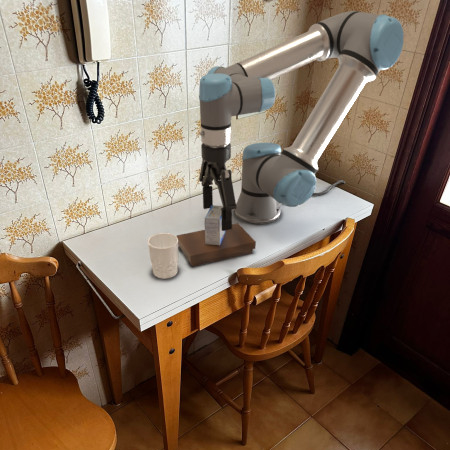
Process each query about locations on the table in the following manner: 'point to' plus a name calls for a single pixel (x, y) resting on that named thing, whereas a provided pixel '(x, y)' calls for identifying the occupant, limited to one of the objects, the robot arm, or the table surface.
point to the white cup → (164, 254)
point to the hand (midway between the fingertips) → (217, 218)
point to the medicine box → (214, 226)
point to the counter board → (215, 246)
